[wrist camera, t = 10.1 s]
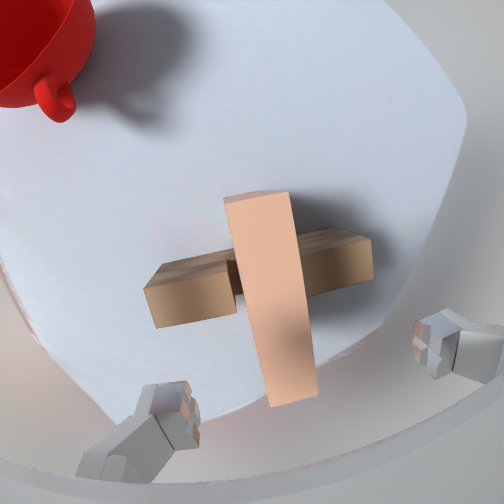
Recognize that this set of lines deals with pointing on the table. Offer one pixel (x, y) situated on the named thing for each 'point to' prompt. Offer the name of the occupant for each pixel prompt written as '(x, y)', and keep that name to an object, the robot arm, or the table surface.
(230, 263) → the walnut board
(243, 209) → the peach notched block
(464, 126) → the table surface
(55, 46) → the ceramic cup
